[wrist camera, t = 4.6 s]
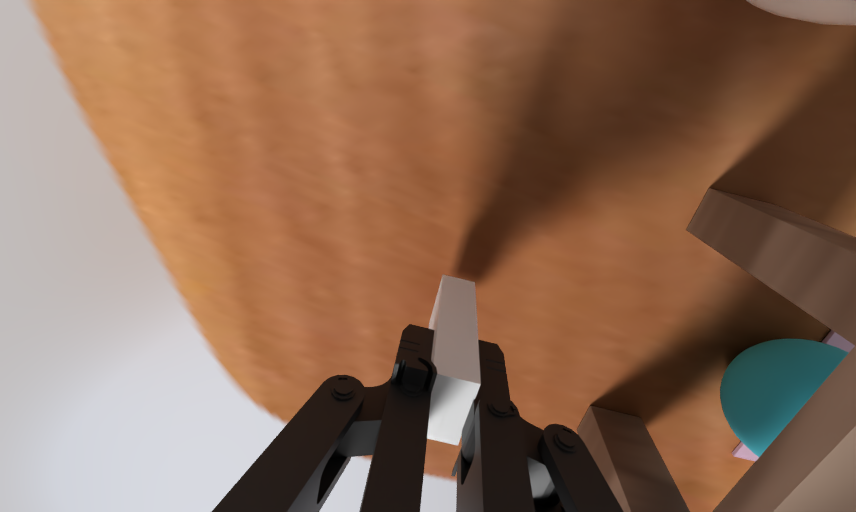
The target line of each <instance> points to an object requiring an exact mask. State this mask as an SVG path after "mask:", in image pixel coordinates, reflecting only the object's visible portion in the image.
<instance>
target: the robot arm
mask: <svg viewBox="0 0 856 512" xmlns="http://www.w3.org/2000/svg"><path fill="white" fill-rule="evenodd" d="M461 435H462V447H461V450H460V452H459V455H458V458H457V460H456V463H455V466H454V468H453V471H452V475H451V476H455V475H456V472H457V510H456V512H624V511H623V510H622V508H621V506H620V504H619V503H618V501H617V499H616V497H615V496H614V494H613V492H612V490H611V489H610V487H609V485H608V483H607V482H606V480H605V478H604V476H603V475H602V473H601V471H600V469H599V468H598V466H597V464H596V462H595V461H594V459H593V457H592V455H591V454H590V452H589V450H588V448H587V447H586V445H585V443H584V442H583V440H582V439H581V438H580V436H579V435H578V434H576V433H575V432H574V431H573V430H571V429H569V428H567V427H565V426H563V425H559V424H551V425H548V426H547V427H546V428H545V429H544V430H542V429H540V428H538V427H536V426H534V425H532V424H530V423H528V422H527V421H525V420H524V419H522V418H521V417H520V415H519V412H518V409H517V407H516V406H515V405H514V403H513V402H512V401H510V395H509V388H508V381H507V374H506V367H505V360H504V354H503V352H502V351H501V349H500V348H499V346H498V345H497V344H494V343H490V342H486V341H482V340H478V327H477V310H476V292H475V282H472V281H468V280H464V279H460V278H456V277H452V276H447V275H443V276H442V279H441V283H440V287H439V290H438V294H437V297H436V301H435V305H434V308H433V312H432V315H431V319H430V322H429V329H428V328H424V327H420V326H415V325H411V324H409V325H408V326H407V327H406V328H405V329H404V330H403V332H402V336H401V340H400V344H399V348H398V352H397V356H396V360H395V365H394V369H393V373H392V376H391V378H390V379H389V380H388V382H386V383H384V384H383V385H380V386H375V387H364V386H363V384H362V383H361V382H360V381H359V380H357V379H356V378H354V377H351V376H348V375H336V376H333V377H330V378H328V379H327V380H326V381H325V382H323V383H322V385H321V386H320V387H319V388H318V389H317V390H316V392H315V393H314V394H313V395H312V396H311V397H310V399H309V400H308V401H307V402H306V403H305V404H304V405H303V407H302V408H301V409H300V410H299V411H298V412H297V414H296V415H295V416H294V417H293V418H292V419H291V421H290V422H289V423H288V424H287V425H286V426H285V427H284V429H283V430H282V431H281V432H280V433H279V435H278V436H277V437H276V438H275V439H274V440H273V441H272V443H271V444H270V445H269V446H268V447H267V448H266V449H265V451H264V452H263V453H262V454H261V455H260V456H259V458H258V459H257V460H256V461H255V462H254V463H253V464H252V466H251V467H250V468H249V469H248V470H247V471H246V473H245V474H244V475H243V476H242V477H241V479H240V480H239V481H238V482H237V483H236V484H235V485H234V486H233V488H232V489H231V490H230V491H229V492H228V493H227V495H226V496H225V497H224V498H223V499H222V500H221V502H220V503H219V504H218V505H217V506H216V507H215V509H214V510H213V511H212V512H319V510H320V509H321V507H322V506H323V504H324V503H325V501H326V499H327V497H328V496H329V494H330V493H331V491H332V489H333V488H334V486H335V484H336V483H337V481H338V479H339V477H340V476H341V474H342V473H343V471H344V469H345V468H346V465H347V464H348V463H349V461H350V458H351V457H353V456H365V455H373V456H372V461H371V465H370V469H369V473H368V478H367V482H366V486H365V490H364V495H363V499H362V503H361V507H360V512H420V504H421V493H422V484H423V473H424V463H425V453H426V442H427V438H428V439H432V440H436V441H441V442H445V443H449V444H453V445H458V443H459V441H460V438H461Z"/></svg>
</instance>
